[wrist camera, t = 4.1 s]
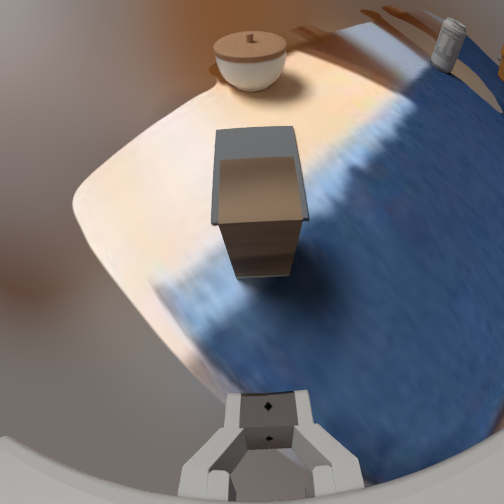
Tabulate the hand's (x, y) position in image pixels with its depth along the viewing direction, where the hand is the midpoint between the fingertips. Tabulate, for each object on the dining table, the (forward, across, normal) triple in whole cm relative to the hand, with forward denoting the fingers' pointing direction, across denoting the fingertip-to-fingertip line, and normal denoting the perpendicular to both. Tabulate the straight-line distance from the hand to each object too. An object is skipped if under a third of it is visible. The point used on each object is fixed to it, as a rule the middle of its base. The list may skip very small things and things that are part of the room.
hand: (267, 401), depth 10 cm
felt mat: (+26, 0, -6) cm, 27 cm away
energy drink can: (+52, -47, -31) cm, 76 cm away
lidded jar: (+40, 0, -19) cm, 44 cm away
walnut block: (+19, 0, +2) cm, 19 cm away
